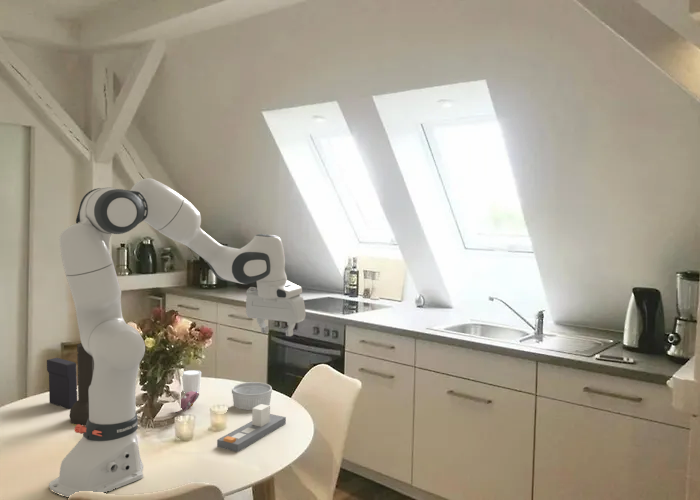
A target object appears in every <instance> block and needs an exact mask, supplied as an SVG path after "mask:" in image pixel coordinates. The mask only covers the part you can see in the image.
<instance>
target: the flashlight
mask: <svg viewBox="0 0 700 500" xmlns="http://www.w3.org/2000/svg"><path fill="white" fill-rule="evenodd" d="M76 346H77V348H76V349H77V351H76V353H77V354H76V355H77V398H78V401H77V402H75V403H74V405H73V406H72V408H71V409H69V419H70V424H72V425H74V426H76V425H78V424H80V425H82V426H83V425H84V426H86V423H87V420H88V418H89V391H88V390H89V386H90V385H91V382H92V377H93V371H94V359H93V357H92V356H91V355H89V354H88V353H87V352H86V351H85V350H84V348H83V346H82V343H81V342H80V343H78V344H76Z"/></svg>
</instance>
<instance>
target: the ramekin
mask: <svg viewBox="0 0 700 500" xmlns="http://www.w3.org/2000/svg"><path fill="white" fill-rule="evenodd" d="M272 392H273V388H272V386H271V385H270V384H268V383H266V382H259V381H255V382H254V381H252V382H251V381H250V382H249V381H248V382H241V383H238V384H236V385H233V386H232V388H231V395H232V401H233V402H232V403H233V406H234V407H235V408H237V409H240V410H246V411H251V410H252V408H254V407H256V406H258V405H260V404H264V405H269V406H271V405H270V403H271V396H272Z"/></svg>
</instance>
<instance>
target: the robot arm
mask: <svg viewBox="0 0 700 500" xmlns="http://www.w3.org/2000/svg"><path fill="white" fill-rule="evenodd" d="M75 222H76V223H74V224H72V225H70V226H67V227H66V228H65V229H64V230H63V231H62V232H61V233H60V235H59V249H60V251H59V252H60V256H61V262H62V267H63V270H64V274H65V278H66V280H67V283H68V287H69V290H70V294H71V297H72V301H73V303H74V308H75V313H76V314H75V315H76V320H77V327H78V332H79V339H80V343H82V346H83V348H84V350H85V351H86V352H87V353H88V354H89V355H91V356H92V357H93V359H94V371H93V377H92V382H91V385H90V386H89V390H88V391H89V418H88V420H87V423H86V425H80V424H78V425H74V426H75V427H74V429H73V430H74V432H75V433H76V434H82V437H81V438H80V439H79V441H77V443H76V444H75V445H74V447H73V448H72V449H71V450H70V451H69V452H68V453H67V455H66V456H65V457H64V458H63V459H62V461H61V464H60V466H59V476H58V477H56V478H55V479H53V480H51V481H50V482H49V483H48V488H49V487H50V489H51V490H53V491H54V492H56V493H59V494H62V495H64V496H68V497H69V496H70V495H72V494H74V493H75V492H79V491H93V492H106V491H109V492H111V491H113V489H114V490H116V489H118V488H122V487H123V486H126V485H128V484H131V483H133V482H137V481H139V480H141V479H143V477H144V474H143V470H144V464H143V461H142V458H141V455H140V454H141V453H140V448H139V443H138V442H139V441H138V436H137V430H138V428H139V426H138V425H139V420H138V413H137V412H136V409H137V408H136V407H137V406H136V401H137V398H136V396H137V395H136V392H137V391H136V388H137V387H136V385H137V377H138V373H139V367H140V363H141V361H142V359H143V358H144V356H145V354H146V344H145V341H144V338H143V337H142V335H141V334H140V332H139V331H138V330H137V329H136V328H135V327H133V326H132V325H130V324H127V323H126V321H125V319H124V316H123V311H122V301H121V300H122V298H121V297H122V288H121V285H120V282H119V278H118V275H117V272H116V268H115V267H116V266H115V263H114V260H113V257H112V254H111V251H110V239H111V236H113V235H123V234H125V233H128V232H130V231H131V230H133V229H134V228H136V227H137V226H138V225H139V224H141V223H142V222H144V223H146V224H148V225H149V226H150V227H152V228H153V229H154V230H156V231H157V232H159V234H162V235H163V236H165V237H166V238H168V239H170V240H172V241H174V242H177V243H179V244H181V245H184V246H186V247H187V248H188V249H190V251H192V252H193V253H195V254H196V255H198V256H199V257H200V258H201V259H203V260H204V261H205V262H206V263H207V265H208V266H209V268H210V270H211V271H212V274H213V275H214V276H215V277H216V278H218V279H219V280H220V281H221V280H222V281H226V282H227V281H228V282H233V283H237V284H242V285H249V284H252V283H256V287H254V286H250V287H249V288H247V290H246V294H245V295H246V299H245V313H246V316H247V317H248V318H250V319H256V323H257V325H258V327H260V333H262V334H267V333H269V326H267V324H266V322H265V320H267V321H276V322H277V321H278V322H286V323H287V324H286V325H287V326H288V327H287V329H285V336H286V337H292V336H294V328H295V327H296V323H297V324H298V323H300V322H301V323H302V322H303V321H304V320H305V319H306V314H307V313H306V305H305V300H304V298H303V296H302V295H301V294H302V293H303V287H302V286H300V285H297V284H296V283H293V282H292V281H290V280H288V275H287V273H286V267H285V266H286V257H285V249H284V245H283V241H282V239H281V238H280V237H279V236H278V235H276V234H266V233H265V234H264V233H263V234H262V233H260V234H259V233H258V234H255V235H254V236H253V238H252V239H251V240H250V241H249V242H248V243H247V244H245V245H244V246H242V247H240V248H236V247H233V246H229V245H225V244H224V245H223V244H221V243H220V242H218V241H217V240H216V239H214V238H213V237H212V236H211V235H209V234H208V233H206V232H205V230H203V229H202V228H201V224H202V216H201V212H200V211H199V210H198V208H196V207H195V206H194V204H193V203H191V202H190V200H188V199H187V198H185V197H184V196H183V195H182V194H180V193H179V192H178V191H176V190H174V189H173V188H171V187H169V185H166V184H164V183H163V182H161V181H158V180H156V179H154V178H151V177H147V178H142V179H140V180H139V181H136V183H135V184H134V185H133V186H131V188H130V189H122V188H121V189H120V188H116V187H98V188H94V189H91V190H90V191H88V192H87V193H86V194H85V195H84V196H83V197H82V199H81V201H80V204H79V208H78V213H77V216H76V219H75ZM112 234H113V235H112ZM115 488H116V489H115ZM50 489H49V490H50ZM51 490H50V491H51ZM106 493H107V492H106Z"/></svg>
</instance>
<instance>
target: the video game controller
mask: <svg viewBox="0 0 700 500" xmlns="http://www.w3.org/2000/svg"><path fill="white" fill-rule="evenodd" d="M199 396H200V392H198V393H197V392H196V391H190V392H187V393H184V396H183V397H182V398H180V400H181V408H182V410H181V411H184V412H186V411H187V410H188V409H190V408H191V407H193V406H194V403H195V402H196V401H197V400H198V399H199Z"/></svg>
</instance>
